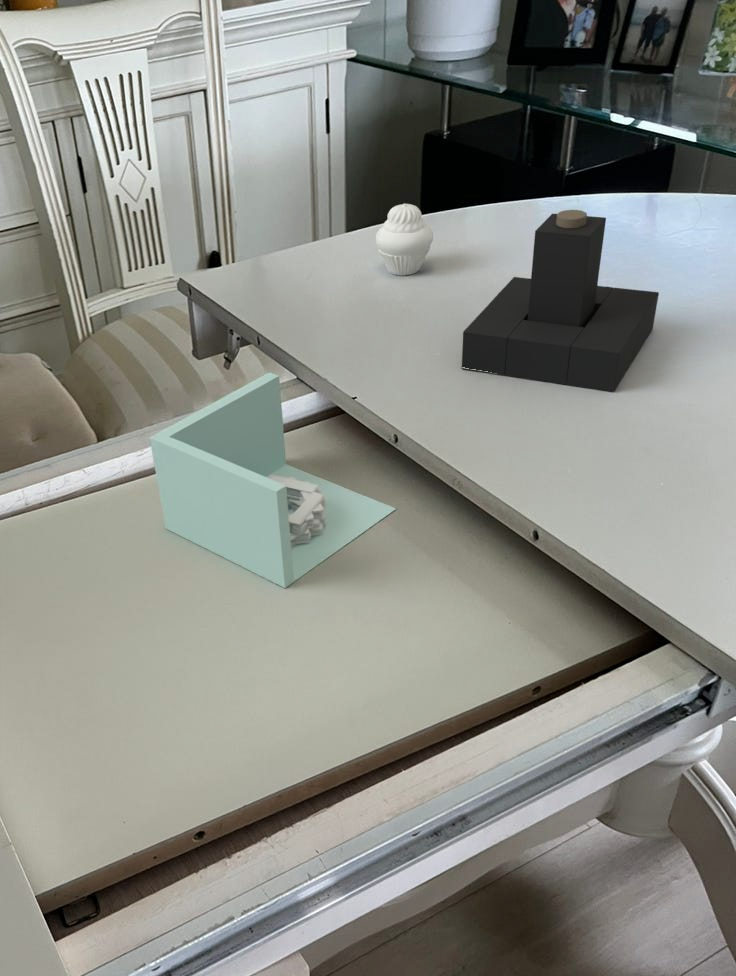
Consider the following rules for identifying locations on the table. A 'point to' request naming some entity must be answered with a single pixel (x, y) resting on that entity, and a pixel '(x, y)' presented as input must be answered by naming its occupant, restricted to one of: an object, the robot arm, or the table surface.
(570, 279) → the pad post
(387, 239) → the muffin
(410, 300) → the table surface
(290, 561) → the right angle wall
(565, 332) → the base pad
